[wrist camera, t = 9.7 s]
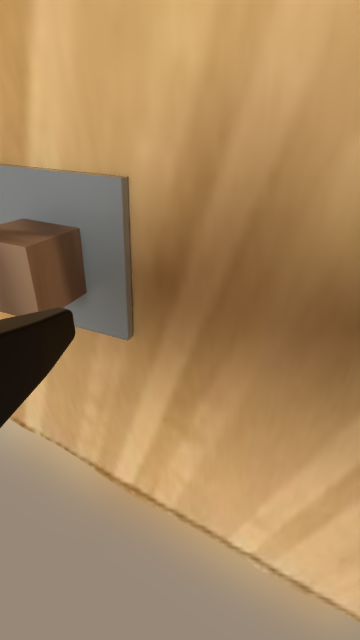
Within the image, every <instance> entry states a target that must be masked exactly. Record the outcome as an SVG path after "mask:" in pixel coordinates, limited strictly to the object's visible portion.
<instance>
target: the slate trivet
mask: <svg viewBox="0 0 360 640" xmlns="http://www.w3.org/2000/svg"><path fill="white" fill-rule="evenodd" d="M19 219H29V220H35V221H41V222H47V223H53V224H59V225H65V226H71V227H77V228H80V237H81V246H82V255H83V264H84V273H85V282H86V291H87V293H85V294H84V295H82V296H81V297H79V298H78V299H76V300H75V301H73V302H72V303H70V304H68V305H67V306H65V307H64V308H65V309H69V310H71V311H72V313H73V319H74V326H76V327H79V328H83V329H87V330H91V331H94V332H98V333H102V334H105V335H109V336H113V337H117V338H120V339H124V340H129V339H130V338H131V337H132V336H133V322H132V292H131V261H130V230H129V199H128V177H124V176H115V175H105V174H95V173H85V172H75V171H66V170H56V169H46V168H36V167H26V166H17V165H7V164H0V224H3V223H7V222H11V221H15V220H19Z"/></svg>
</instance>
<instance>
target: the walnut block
mask: <svg viewBox="0 0 360 640" xmlns="http://www.w3.org/2000/svg"><path fill="white" fill-rule="evenodd" d="M85 293H87V291H86V282H85V273H84V264H83V255H82V246H81V237H80V228H77V227H71V226H65V225H59V224H53V223H47V222H41V221H35V220H29V219H19V220H15V221H11V222H7V223H3V224H0V311H1V312H4V313H8V314H12V315H15V316H20V315H25V314H29V313H34V312H39V311H43V310H48V309H53V308H57V307H61V308H64V307H65V306H67V305H68V304H70V303H72V302H73V301H75V300H76V299H78V298H79V297H81V296H82V295H84V294H85Z"/></svg>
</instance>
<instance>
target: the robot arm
mask: <svg viewBox="0 0 360 640" xmlns="http://www.w3.org/2000/svg"><path fill="white" fill-rule="evenodd" d="M74 336H75V326H74V319H73V313H72V311H71V310H69V309H65V308H61V307H57V308H53V309H48V310H43V311H39V312H34V313H29V314H25V315H20V316H15V317H11V318H6V319H1V320H0V428H1V427H2V426H3V424H4V423H5V422H6V421H7V420H8V419H9V418H10V416H11V415H12V414H13V413H14V412H15V411H16V410H17V409H18V407H19V406H20V405H21V404H22V403H23V402H24V401H25V400H26V398H27V397H28V396H29V395H30V394H31V393H32V392H33V391H34V389H35V388H36V387H37V386H38V385H39V384H40V383H41V381H42V380H43V379H44V378H45V377H46V376H47V374H48V373H49V372H50V371H51V369H52V368H53V367H54V365H55V364H56V362H57V361H58V360H59V358H60V357H61V355H62V354H63V353H64V351H65V350H66V349H67V347H68V346H69V344H70V343H71V342H72V340H73V339H74Z"/></svg>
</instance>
